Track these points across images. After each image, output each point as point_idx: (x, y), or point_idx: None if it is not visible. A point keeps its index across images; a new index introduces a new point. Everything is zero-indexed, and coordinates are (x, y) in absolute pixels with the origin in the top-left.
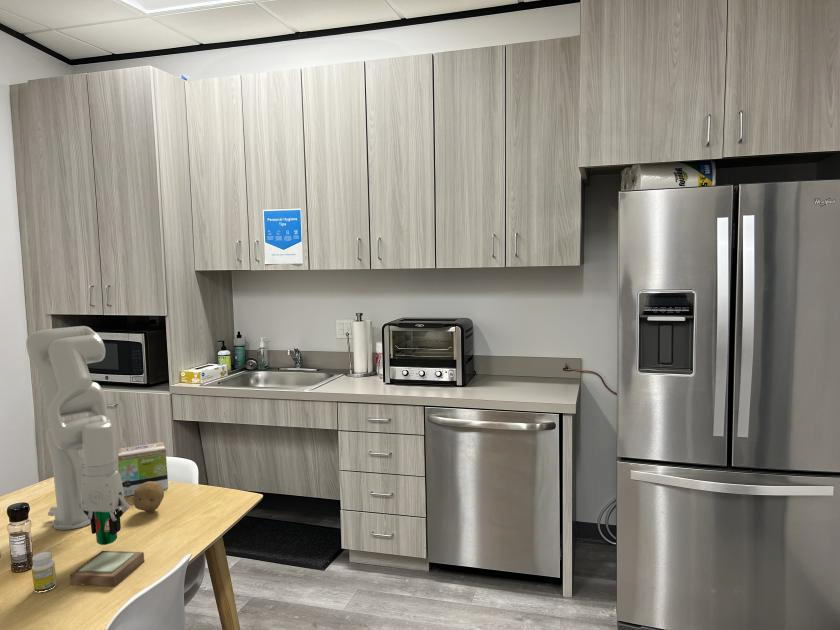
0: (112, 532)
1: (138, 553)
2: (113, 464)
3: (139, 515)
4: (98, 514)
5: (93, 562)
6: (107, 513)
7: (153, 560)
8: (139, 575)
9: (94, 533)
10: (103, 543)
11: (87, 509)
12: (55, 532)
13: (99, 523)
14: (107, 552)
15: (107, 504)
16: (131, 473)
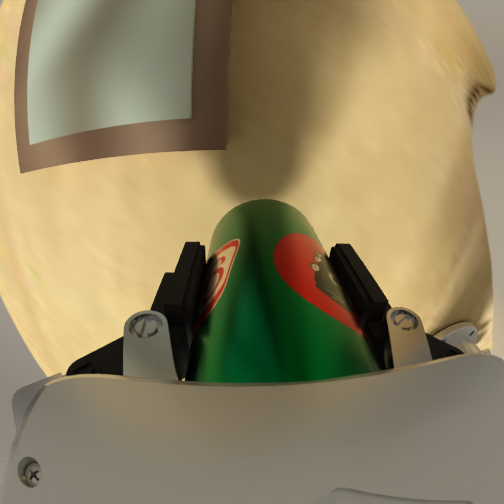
0: (186, 248)
1: (28, 157)
2: None
3: None
4: (299, 346)
5: (170, 13)
6: (198, 374)
7: (26, 177)
8: (12, 79)
9: (334, 250)
10: (250, 201)
11: (461, 371)
12: (469, 311)
13: (280, 271)
14: (161, 118)
15: (77, 490)
16: None
